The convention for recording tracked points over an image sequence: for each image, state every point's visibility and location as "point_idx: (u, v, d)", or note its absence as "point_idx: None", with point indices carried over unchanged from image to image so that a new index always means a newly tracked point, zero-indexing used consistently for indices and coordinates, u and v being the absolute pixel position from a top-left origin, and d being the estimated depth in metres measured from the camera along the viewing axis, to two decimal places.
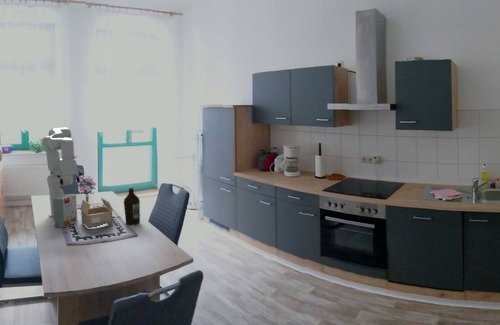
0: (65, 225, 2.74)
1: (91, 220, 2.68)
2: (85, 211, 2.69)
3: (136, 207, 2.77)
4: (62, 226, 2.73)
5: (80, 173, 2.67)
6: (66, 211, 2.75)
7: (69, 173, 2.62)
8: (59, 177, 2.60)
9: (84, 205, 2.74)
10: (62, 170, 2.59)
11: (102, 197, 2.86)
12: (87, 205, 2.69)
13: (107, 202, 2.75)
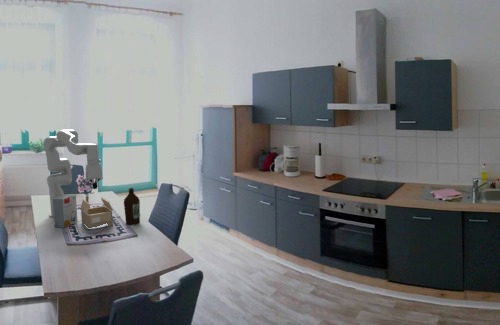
0: (65, 225, 2.74)
1: (91, 220, 2.68)
2: (85, 211, 2.69)
3: (136, 207, 2.77)
4: (62, 226, 2.73)
5: (98, 179, 2.76)
6: (66, 211, 2.75)
7: (94, 177, 2.73)
8: (92, 182, 2.73)
9: (84, 205, 2.74)
10: (88, 174, 2.70)
11: (102, 197, 2.86)
12: (87, 205, 2.69)
13: (107, 202, 2.75)
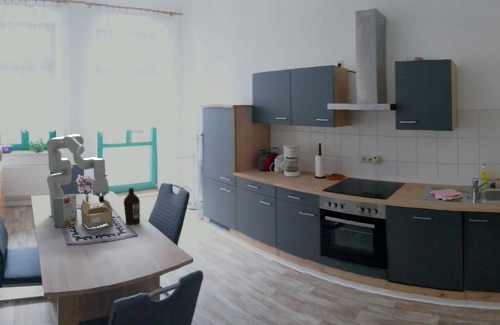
0: (65, 225, 2.74)
1: (91, 220, 2.68)
2: (85, 211, 2.69)
3: (136, 207, 2.77)
4: (62, 226, 2.73)
5: (104, 193, 2.80)
6: (66, 211, 2.75)
7: (101, 191, 2.77)
8: (98, 196, 2.77)
9: (84, 205, 2.74)
10: (94, 188, 2.74)
11: None
12: (87, 205, 2.69)
13: (107, 202, 2.75)
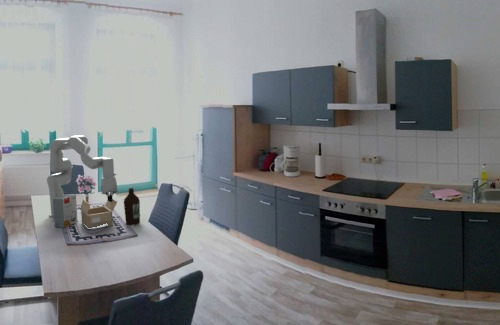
0: (65, 225, 2.74)
1: (91, 220, 2.68)
2: (85, 211, 2.69)
3: (136, 207, 2.77)
4: (62, 226, 2.73)
5: (113, 192, 2.83)
6: (66, 211, 2.75)
7: (109, 190, 2.80)
8: (107, 195, 2.81)
9: (84, 205, 2.74)
10: (103, 187, 2.77)
11: None
12: (87, 205, 2.69)
13: (115, 201, 2.78)
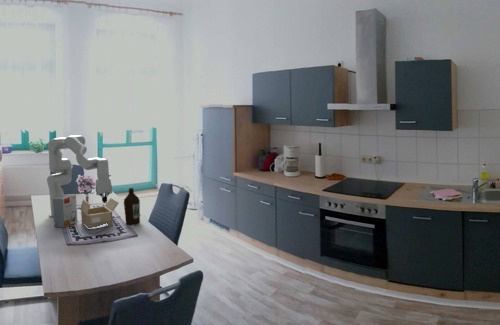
0: (65, 225, 2.74)
1: (91, 220, 2.68)
2: (85, 211, 2.69)
3: (136, 207, 2.77)
4: (62, 226, 2.73)
5: (108, 193, 2.81)
6: (66, 211, 2.75)
7: (104, 191, 2.78)
8: (101, 196, 2.79)
9: (84, 205, 2.74)
10: (98, 188, 2.75)
11: None
12: (87, 205, 2.69)
13: (116, 202, 2.79)
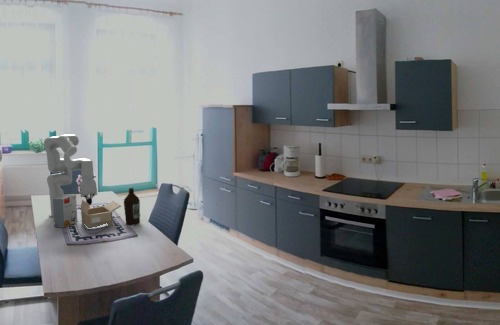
0: (65, 225, 2.74)
1: (91, 220, 2.68)
2: (85, 211, 2.69)
3: (136, 207, 2.77)
4: (62, 226, 2.73)
5: (92, 195, 2.75)
6: (66, 211, 2.75)
7: (88, 192, 2.72)
8: (86, 198, 2.73)
9: (84, 205, 2.74)
10: (82, 190, 2.69)
11: (114, 202, 2.92)
12: (86, 205, 2.69)
13: (119, 205, 2.80)
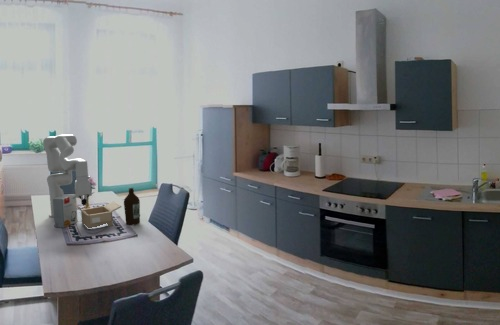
0: (65, 225, 2.74)
1: (91, 220, 2.68)
2: None
3: (136, 207, 2.77)
4: (62, 226, 2.73)
5: (87, 195, 2.73)
6: (66, 211, 2.75)
7: (83, 193, 2.70)
8: None
9: None
10: (76, 190, 2.68)
11: (114, 202, 2.92)
12: (79, 209, 2.66)
13: (119, 206, 2.80)
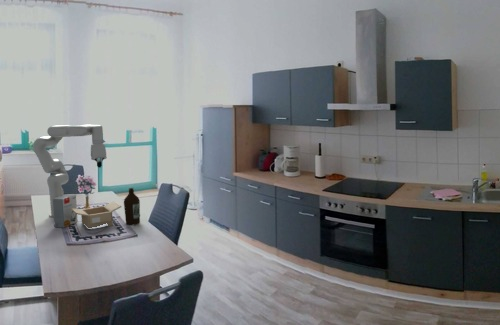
0: (65, 225, 2.74)
1: (91, 220, 2.68)
2: (83, 214, 2.69)
3: (136, 207, 2.77)
4: (62, 226, 2.73)
5: (102, 158, 2.95)
6: (66, 211, 2.75)
7: (98, 156, 2.92)
8: (96, 161, 2.92)
9: (77, 211, 2.72)
10: (93, 153, 2.89)
11: (114, 202, 2.92)
12: (77, 213, 2.66)
13: (119, 206, 2.80)
